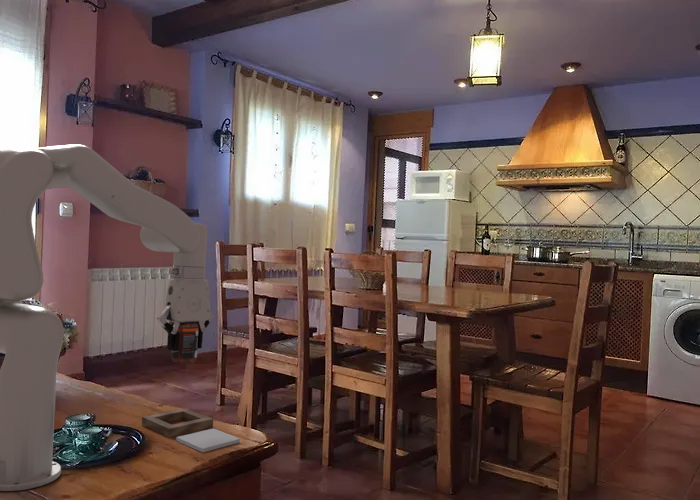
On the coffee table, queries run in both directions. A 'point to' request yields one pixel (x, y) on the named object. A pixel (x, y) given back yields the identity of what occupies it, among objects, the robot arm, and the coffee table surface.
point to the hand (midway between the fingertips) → (184, 348)
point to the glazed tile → (207, 440)
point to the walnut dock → (163, 427)
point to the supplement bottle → (186, 343)
